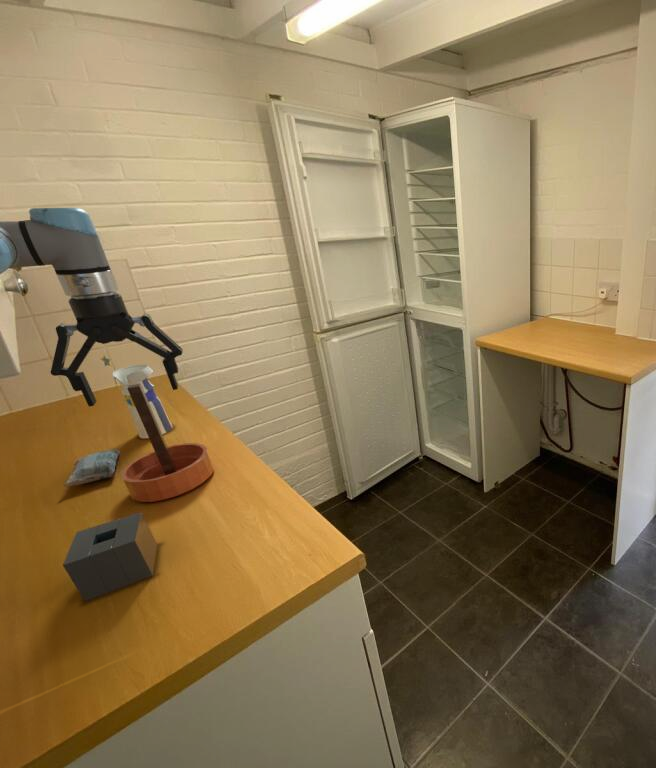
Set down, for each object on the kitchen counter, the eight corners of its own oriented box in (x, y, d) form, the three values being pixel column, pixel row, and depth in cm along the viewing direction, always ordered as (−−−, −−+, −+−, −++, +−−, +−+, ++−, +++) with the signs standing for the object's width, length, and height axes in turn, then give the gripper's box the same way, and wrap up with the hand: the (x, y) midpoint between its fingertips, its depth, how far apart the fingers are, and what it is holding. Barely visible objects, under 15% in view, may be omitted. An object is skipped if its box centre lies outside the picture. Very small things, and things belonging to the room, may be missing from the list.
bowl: (127, 514, 87) (115, 491, 85) (136, 478, 99) (126, 457, 97) (215, 487, 95) (206, 465, 93) (214, 456, 107) (206, 436, 105)
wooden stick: (168, 483, 96) (127, 388, 86) (169, 479, 97) (128, 385, 88) (179, 480, 97) (139, 386, 87) (179, 476, 98) (140, 383, 89)
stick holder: (85, 601, 68) (62, 565, 65) (96, 566, 75) (76, 532, 72) (153, 575, 72) (134, 540, 69) (157, 544, 79) (141, 511, 76)
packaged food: (68, 494, 94) (59, 476, 92) (79, 470, 103) (70, 453, 101) (119, 480, 99) (111, 463, 97) (125, 458, 108) (117, 442, 106)
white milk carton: (163, 437, 117) (128, 353, 107) (130, 440, 116) (91, 356, 106) (181, 423, 125) (149, 343, 115) (149, 426, 124) (115, 345, 114)
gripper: (-9, 307, 71) (48, 418, 79) (173, 289, 83) (206, 387, 92) (7, 300, 76) (59, 404, 85) (175, 284, 89) (206, 376, 97)
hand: (135, 395), depth 88 cm, fingers open, 13 cm apart
